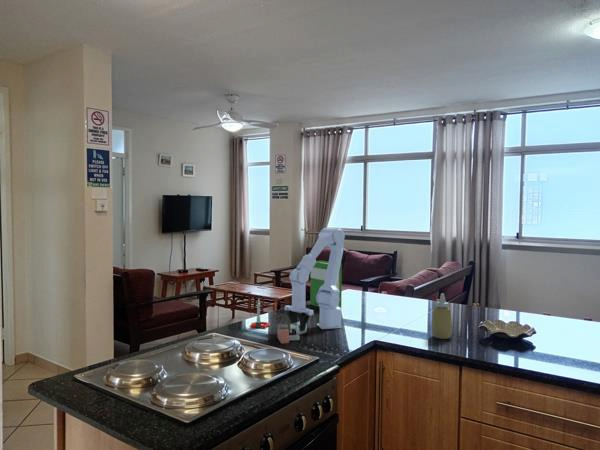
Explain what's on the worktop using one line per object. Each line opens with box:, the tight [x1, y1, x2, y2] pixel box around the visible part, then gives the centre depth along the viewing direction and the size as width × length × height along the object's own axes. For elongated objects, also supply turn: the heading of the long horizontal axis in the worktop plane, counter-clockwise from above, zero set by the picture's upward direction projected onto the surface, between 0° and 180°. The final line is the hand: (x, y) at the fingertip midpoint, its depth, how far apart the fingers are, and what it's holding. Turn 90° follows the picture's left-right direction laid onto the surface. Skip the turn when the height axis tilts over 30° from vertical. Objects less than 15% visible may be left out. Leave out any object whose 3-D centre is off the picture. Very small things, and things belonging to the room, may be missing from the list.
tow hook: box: [250, 298, 271, 329], centre depth 193 cm, size 8×13×9 cm
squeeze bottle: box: [431, 293, 453, 340], centre depth 177 cm, size 8×8×18 cm
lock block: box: [289, 321, 308, 336], centre depth 182 cm, size 6×4×4 cm, turn 139°
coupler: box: [277, 323, 301, 344], centre depth 172 cm, size 8×8×6 cm
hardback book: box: [309, 260, 343, 310], centre depth 234 cm, size 18×7×24 cm, turn 36°
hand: (298, 329), depth 182 cm, fingers closed on lock block, 4 cm apart
